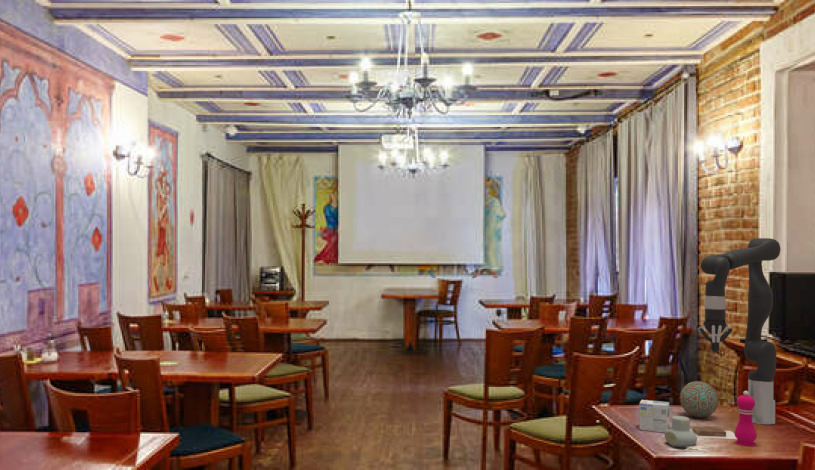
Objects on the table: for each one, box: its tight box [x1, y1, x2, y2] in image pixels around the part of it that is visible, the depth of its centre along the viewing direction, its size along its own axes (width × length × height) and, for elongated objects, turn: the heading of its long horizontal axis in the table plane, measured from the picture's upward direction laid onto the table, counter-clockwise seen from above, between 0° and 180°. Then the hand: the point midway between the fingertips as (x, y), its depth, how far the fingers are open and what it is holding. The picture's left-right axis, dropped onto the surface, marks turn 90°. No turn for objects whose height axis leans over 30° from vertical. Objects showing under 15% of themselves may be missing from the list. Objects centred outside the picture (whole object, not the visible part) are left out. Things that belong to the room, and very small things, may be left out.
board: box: [690, 428, 738, 440], centre depth 271 cm, size 20×12×1 cm, turn 84°
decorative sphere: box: [679, 380, 719, 419], centre depth 303 cm, size 15×15×15 cm
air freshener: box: [664, 415, 698, 449], centre depth 258 cm, size 11×8×10 cm
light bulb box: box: [638, 399, 670, 434], centre depth 281 cm, size 11×7×11 cm, turn 65°
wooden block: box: [692, 425, 726, 436], centre depth 271 cm, size 2×7×10 cm
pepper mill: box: [734, 390, 758, 447], centre depth 258 cm, size 7×7×20 cm
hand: (714, 352), depth 282 cm, fingers closed
